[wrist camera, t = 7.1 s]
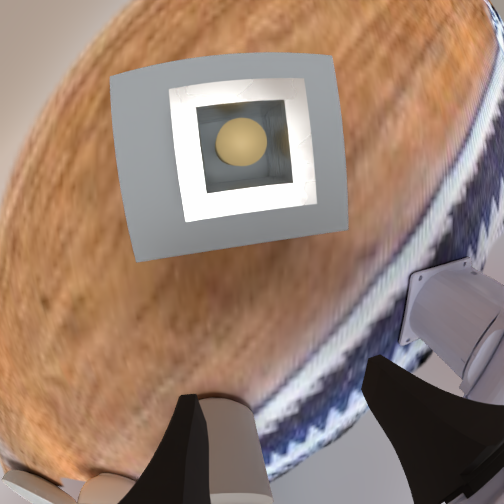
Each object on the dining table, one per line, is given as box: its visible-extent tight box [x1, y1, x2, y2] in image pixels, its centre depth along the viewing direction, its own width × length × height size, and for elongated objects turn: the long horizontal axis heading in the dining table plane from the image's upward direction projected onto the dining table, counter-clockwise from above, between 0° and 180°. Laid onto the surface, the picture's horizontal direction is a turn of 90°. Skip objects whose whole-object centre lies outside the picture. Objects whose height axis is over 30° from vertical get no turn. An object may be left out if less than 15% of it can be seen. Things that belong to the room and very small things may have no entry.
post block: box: [110, 52, 348, 263], centre depth 14 cm, size 14×12×5 cm
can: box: [199, 398, 274, 504], centre depth 17 cm, size 8×8×12 cm
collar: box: [169, 78, 317, 222], centre depth 13 cm, size 6×6×5 cm
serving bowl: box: [2, 470, 77, 504], centre depth 25 cm, size 21×21×7 cm
